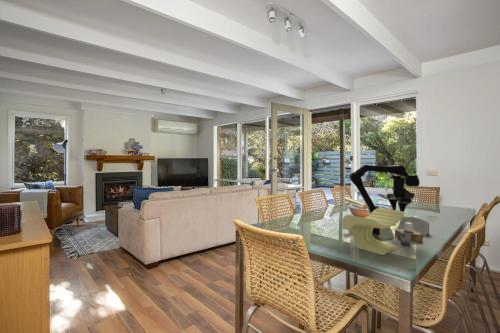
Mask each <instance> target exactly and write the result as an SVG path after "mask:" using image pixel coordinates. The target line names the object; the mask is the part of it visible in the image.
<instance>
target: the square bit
mask: <svg viewBox="0 0 500 333" xmlns="http://www.w3.org/2000/svg"><path fill="white" fill-rule="evenodd" d="M404 232H406V233H413V224H412V223H410V222H404Z"/></svg>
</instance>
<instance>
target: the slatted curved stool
mask: <svg viewBox="0 0 500 333" xmlns="http://www.w3.org/2000/svg"><path fill="white" fill-rule="evenodd" d="M403 217H405V211H404V212H403V211H400V210H397V209H396V210H393V209H388V208H383V207H379V208H377V209H375V210H374V211H373V212H371V213H369V214H368V215H367V216H365V217H361V216H356V215H351V214H346V215H344V216H343V218H342V230H346V231H352V235H353V237H352V238H353V244H354V246H355V247H357V249H361V250H365V251H367V252H371V253H374V254H379V255H382V256H383V255H386V254H388V253H391V252H393V251H395V250H396V246H395V245H394V244H389V243H386V242H383V241H380V240H378V239H377V238H375V237H374V235H373V234H372V231H373V229H374V228H380V229H381V230H384V229H387V228H388V229H389V228H391V227H393V226H397V224H399V223H400V220H402V218H403Z"/></svg>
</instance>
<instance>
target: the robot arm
mask: <svg viewBox="0 0 500 333" xmlns="http://www.w3.org/2000/svg"><path fill="white" fill-rule="evenodd" d="M367 172H378V173H388V174H392V175H390V176H389V179H391V180H393V182H392V183H393V184H392V187H391V190H392V193H386V198H387V200H388V202H389V204H390V206H391V207H392V210H396V211H397V205H398V209H399V211H403V212H404V213H405V210H406V208H407V206H408V205H410V204H411V203H413V200H414V197H415V195H416V194H415V193H413V192H411V191H410V190H407V189H406V188H405V186H406V187H419V186H420V179H419V176H418V174H413V175H411V174H409V173H408V172H407V170H406V167H405V166H404V165H401V164H399V165H398V164H396V165H388V166H387V165H372V164H371V165H370V164H363V165H362V166H360V167H359V168H358V169H357V170H355V171H354V172H351V173H350V174H349V175H348V178H349V180H350V181H351V183H352V184H353V185H354V186H355V187H356V189H357V190H358V192H359V194H360V196H361V198H362V199H363V201H364V203H365V204H366V206H367V210H368V213H369V214H370V213H371V212H373V211H374V210H375V209H377V208H380V207H379V206H378V205H375V204H374V202H373V200H372V198H371V196H370V195H369V193H368V191H367V190H366V188H365V185H364V183H363V180H362V177H364V175H365V174H366V173H367ZM380 233H381V232H380V228H374V229H373V231H372V235H373V234H376V235H377V234H378V235H380Z"/></svg>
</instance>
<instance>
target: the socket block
mask: <svg viewBox="0 0 500 333" xmlns="http://www.w3.org/2000/svg"><path fill="white" fill-rule="evenodd" d="M402 232H404V229H397V228H395V229H394V237H395V238H397V239H399V240H401V233H402ZM405 233H406V232H405ZM410 234H411V243H412V242H415V243H416V242H417V243H418V242H419V243H421V242H423V241H424V240H423V239H424V235H423V234H421V233H419V232H417V231H415V230H413V233H410Z"/></svg>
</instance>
